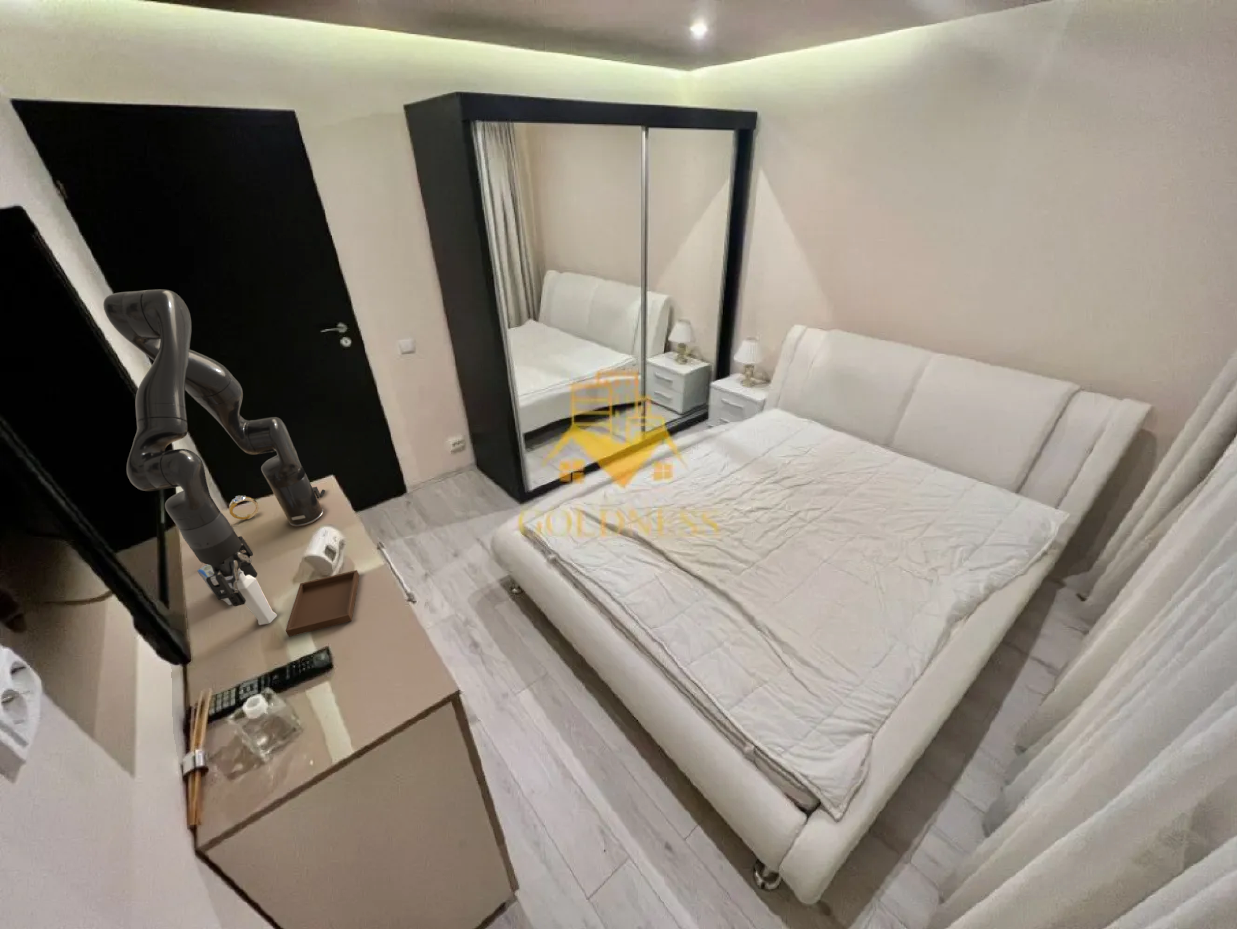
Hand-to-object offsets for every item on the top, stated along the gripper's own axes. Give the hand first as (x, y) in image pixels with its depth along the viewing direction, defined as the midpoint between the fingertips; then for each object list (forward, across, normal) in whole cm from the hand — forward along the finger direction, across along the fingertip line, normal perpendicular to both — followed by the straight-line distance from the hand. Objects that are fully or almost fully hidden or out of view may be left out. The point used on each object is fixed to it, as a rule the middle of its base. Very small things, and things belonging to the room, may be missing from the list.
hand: (246, 590), depth 108 cm
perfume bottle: (+10, 0, 0) cm, 10 cm away
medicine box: (+10, +12, +11) cm, 19 cm away
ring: (+10, +46, +16) cm, 50 cm away
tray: (+10, 0, -13) cm, 16 cm away
